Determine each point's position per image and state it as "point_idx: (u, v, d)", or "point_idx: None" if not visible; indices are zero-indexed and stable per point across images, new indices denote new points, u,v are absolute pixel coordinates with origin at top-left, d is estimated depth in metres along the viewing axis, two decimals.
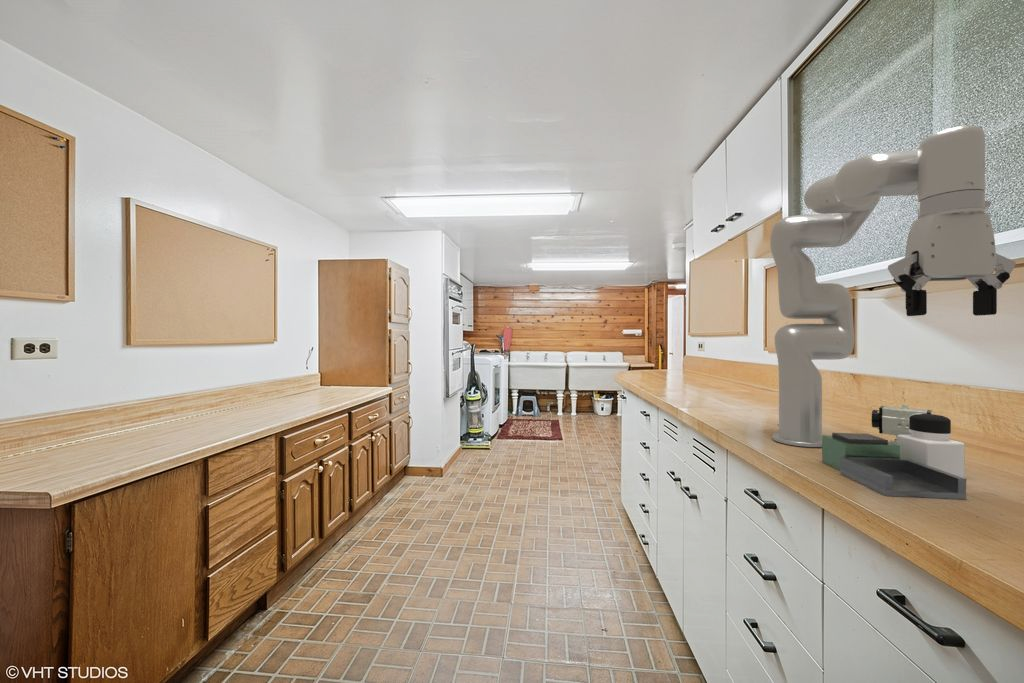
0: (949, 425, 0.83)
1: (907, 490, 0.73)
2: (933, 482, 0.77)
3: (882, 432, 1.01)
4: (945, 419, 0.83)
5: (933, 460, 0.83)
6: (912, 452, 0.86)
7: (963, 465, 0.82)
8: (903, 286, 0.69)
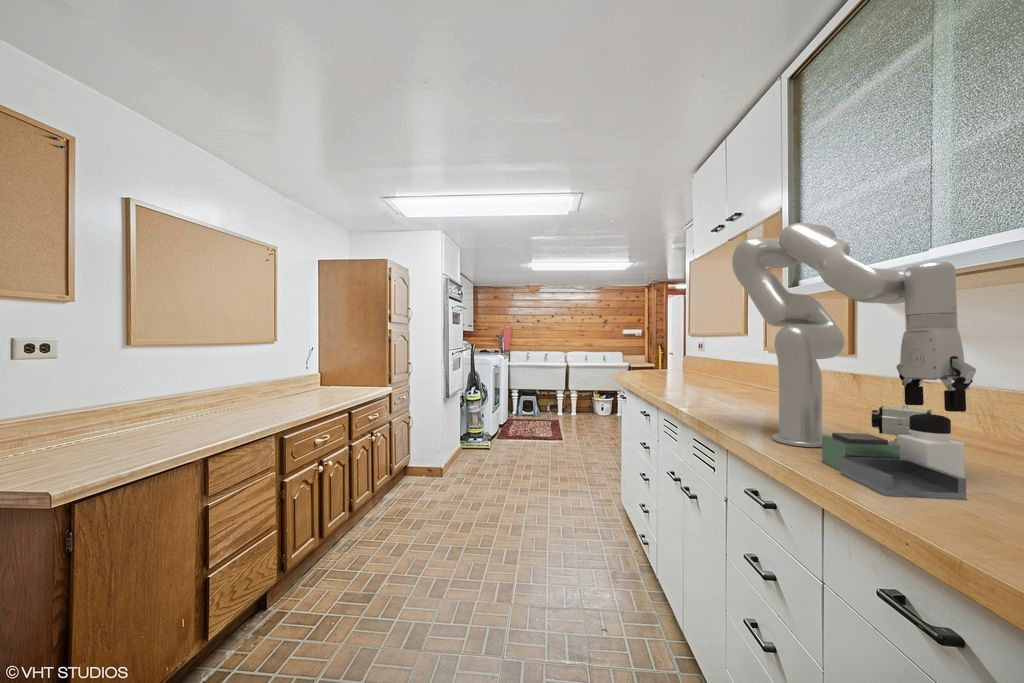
0: (949, 425, 0.83)
1: (907, 490, 0.73)
2: (933, 482, 0.77)
3: (882, 432, 1.01)
4: (945, 419, 0.83)
5: (933, 460, 0.83)
6: (912, 452, 0.86)
7: (963, 465, 0.82)
8: (961, 387, 0.79)
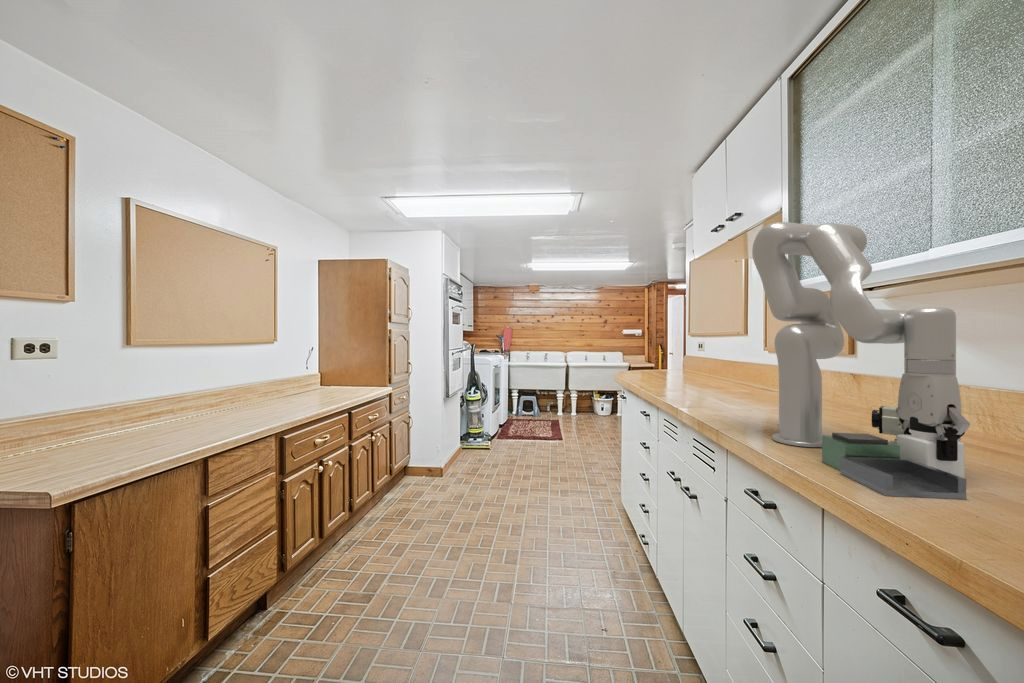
0: None
1: (907, 490, 0.73)
2: (933, 482, 0.77)
3: (882, 432, 1.01)
4: None
5: (933, 460, 0.83)
6: (912, 452, 0.86)
7: (963, 465, 0.82)
8: (953, 437, 0.80)
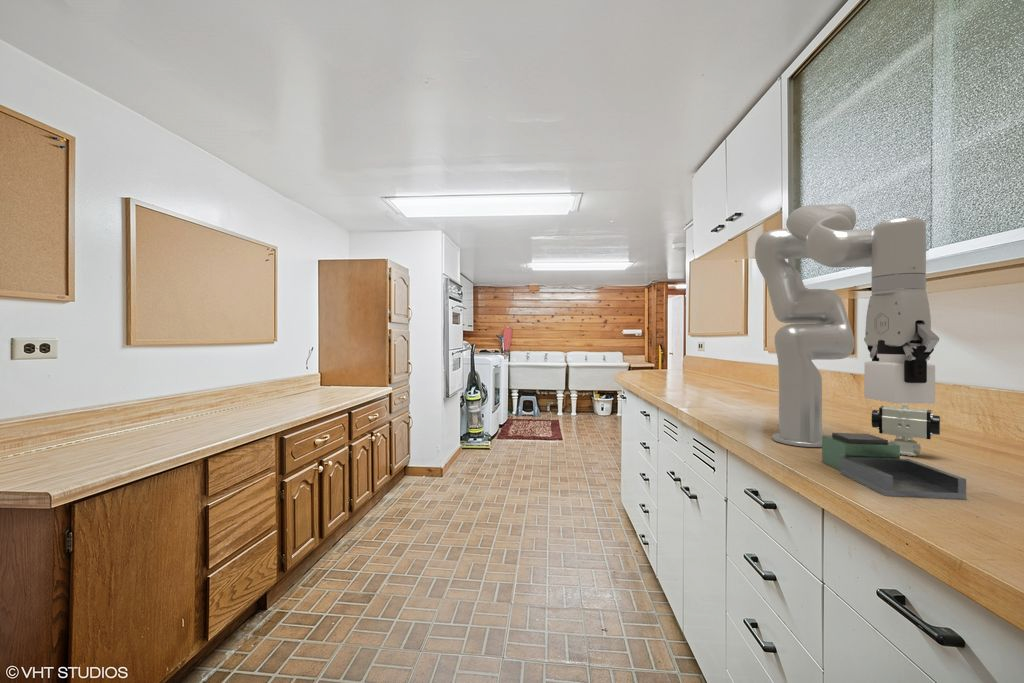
0: None
1: (907, 490, 0.73)
2: (933, 482, 0.77)
3: (882, 432, 1.01)
4: None
5: (900, 382, 0.75)
6: (879, 377, 0.79)
7: (933, 388, 0.75)
8: (922, 356, 0.73)
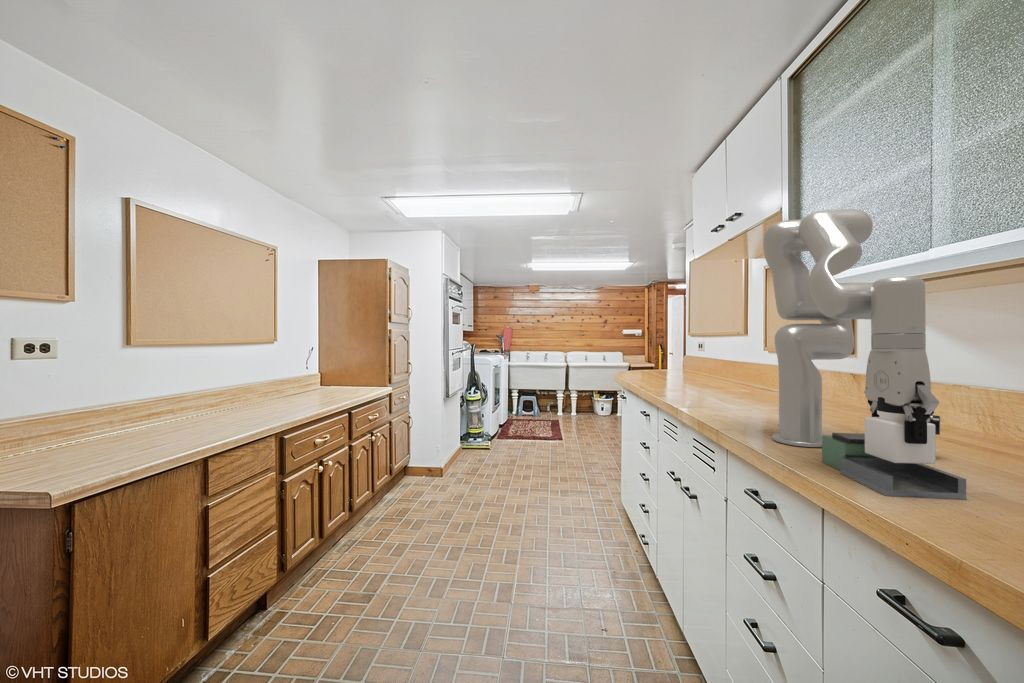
0: None
1: (907, 490, 0.73)
2: (933, 482, 0.77)
3: None
4: None
5: (901, 443, 0.75)
6: (879, 435, 0.78)
7: (934, 448, 0.75)
8: (922, 418, 0.73)
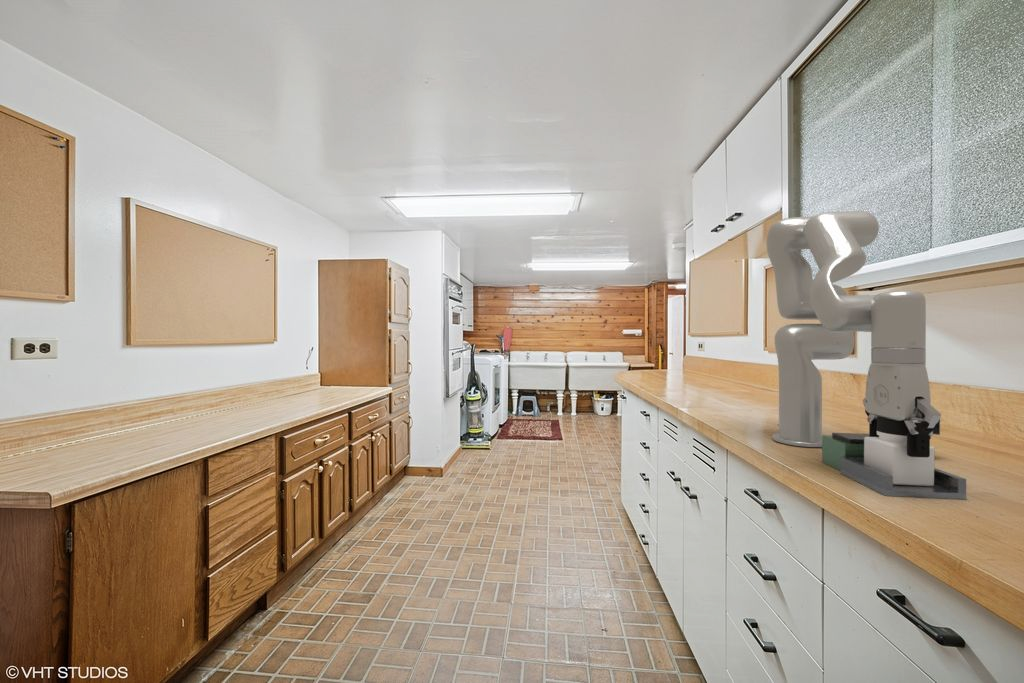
0: None
1: (907, 490, 0.73)
2: None
3: None
4: None
5: (899, 464, 0.76)
6: (878, 456, 0.79)
7: (933, 471, 0.75)
8: (925, 431, 0.72)
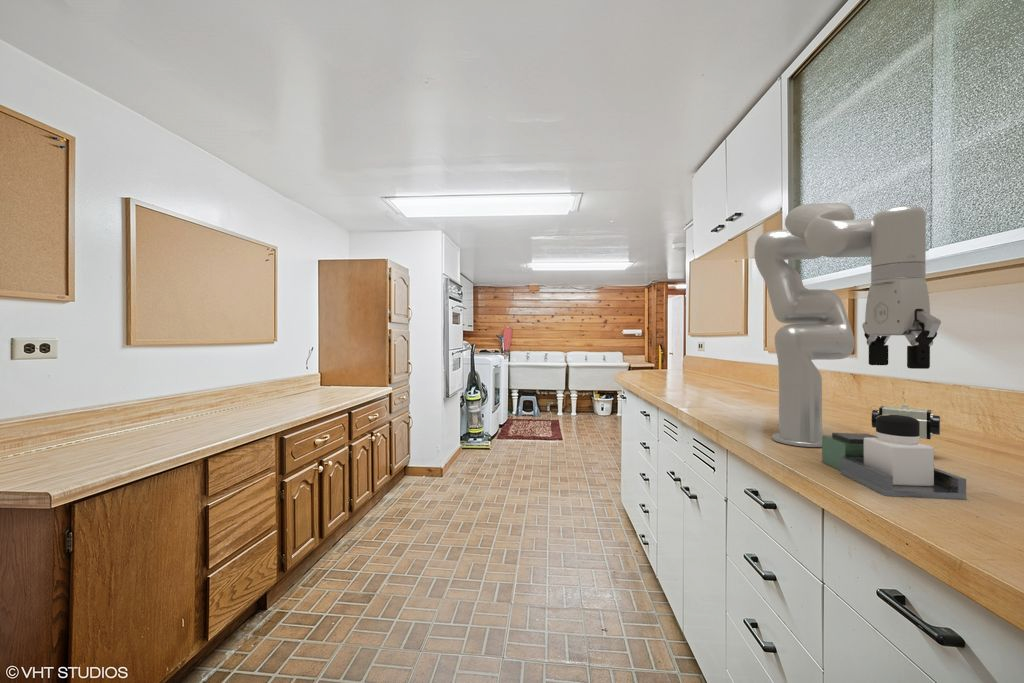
0: (917, 427, 0.76)
1: (907, 490, 0.73)
2: None
3: None
4: (913, 421, 0.76)
5: (898, 465, 0.76)
6: (878, 456, 0.79)
7: (932, 471, 0.75)
8: (925, 341, 0.72)
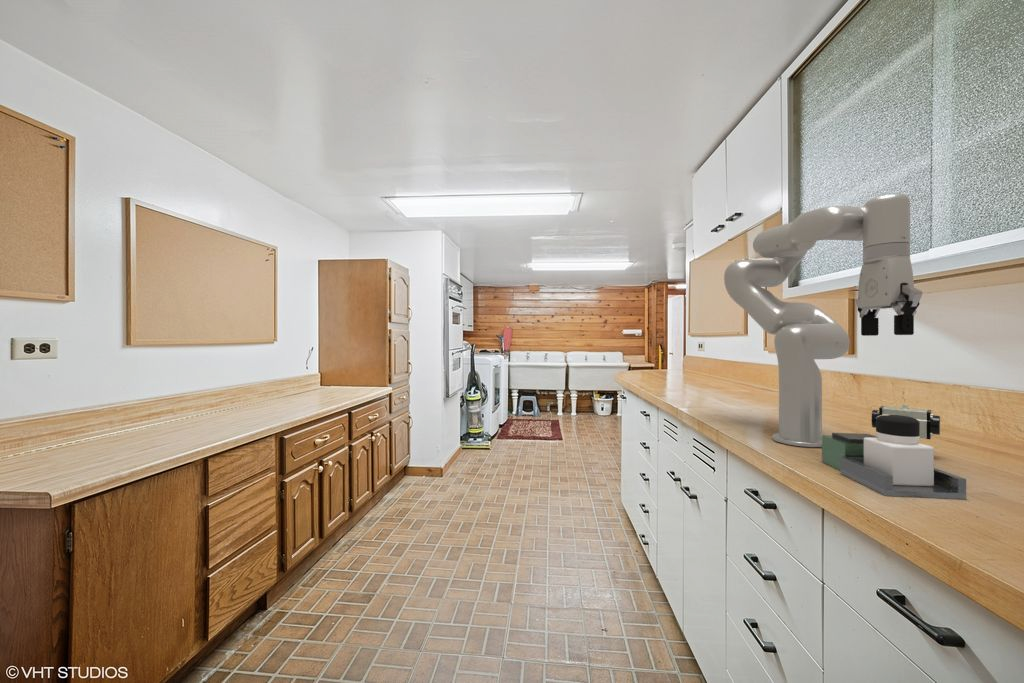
0: (917, 427, 0.76)
1: (907, 490, 0.73)
2: None
3: None
4: (913, 421, 0.76)
5: (898, 465, 0.76)
6: (878, 456, 0.79)
7: (932, 471, 0.75)
8: (909, 310, 0.83)
